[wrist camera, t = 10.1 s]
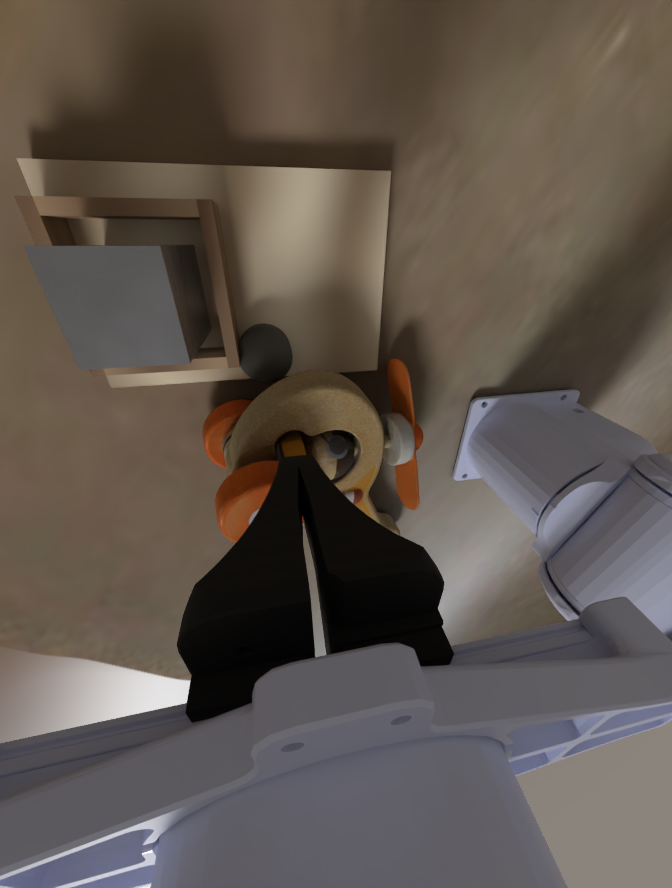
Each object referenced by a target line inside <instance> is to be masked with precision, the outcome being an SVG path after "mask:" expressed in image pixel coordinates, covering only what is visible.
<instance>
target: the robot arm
mask: <svg viewBox="0 0 672 888" xmlns="http://www.w3.org/2000/svg"><path fill="white" fill-rule="evenodd" d="M579 395H580V392H579V391H577V390H575V389H570V390H558V391H547V392H535V393H523V394H512V395H500V396H488V397H477V398H475V399H473V400H472V401H471V404H470V407H469V411H468V415H467V419H466V423H465V427H464V431H463V435H462V439H461V443H460V447H459V451H458V455H457V459H456V463H455V467H454V471H453V478H454V479H455V480H456V481H461V480H468V479H476V478H483V479H484V481H485V482H486V483H487V484H488V485H489V486H490V487H491V488H492V489H493V490H494V491H495V492H496V494H497V495H498V496H499V497H500V498H501V499H502V500H503V501H504V502H505V503H506V504H507V506H508V507H509V508H510V509H511V510H512V511H513V512H514V513H515V514H516V515H517V516H518V518H519V519H520V520H521V521H522V522H523V523H524V524H525V525H526V526H527V527H528V528H529V529H530V531H531V532H532V533H533V534H534V535H535V536H536V537H537V538H536V540H535V542H534V543H533V545H532V548H533V549H534V550H535V551H536V552H537V553H538V554H539V556H540V557H541V558H542V559H543V561H542V562H541V563H540V565H539V568H538V573H539V577H540V580H541V583H542V585H543V587H544V589H545V591H546V593H547V595H548V597H549V599H550V600H551V602H552V603H553V605H554V606H555V607H556V609H557V610H558V611H559V612H560V613H561V614H562V615H563V617H564V618H565V619H566V620H567V621H566V622H561V623H557V624H552V625H547V626H543V627H538V628H533V629H529V630H524V631H519V632H515V633H510V634H506V635H501V636H496V637H492V638H487V639H482V640H478V641H473V642H468V643H464V644H459V645H455V646H450V644H449V641H448V639H447V637H446V635H445V633H444V630H443V628H442V626H443V619H442V617H441V615H440V613H439V611H438V606H439V602H440V599H441V596H442V593H443V589H444V581H443V578H442V576H441V574H440V572H439V570H438V568H437V566H436V565H435V563H434V562H433V560H432V559H431V557H430V556H429V554H428V553H427V552H426V550H425V549H424V547H422V546H420V545H418V544H416V543H414V542H412V541H410V540H407V539H405V538H403V537H401V536H399V535H397V534H396V533H394V532H392V531H390V530H389V529H387V528H385V527H384V526H382V525H381V524H379V523H378V522H376V521H375V520H373V519H372V518H370V517H369V516H368V515H366V514H365V513H364V512H363V511H361V510H360V509H359V508H358V507H357V506H355V505H354V504H353V503H352V502H351V501H350V500H349V499H348V498H347V497H346V496H345V495H344V494H343V493H342V492H341V491H340V490H339V489H338V488H337V487H336V486H335V485H334V483H333V482H332V481H331V480H330V479H329V477H328V476H327V475H326V474H325V472H324V471H323V469H322V468H321V467H320V465H319V464H318V462H317V460H316V459H315V457H314V456H313V455H312V454H308V455H299V456H289V457H281V458H280V459H279V463H278V468H277V471H276V474H275V477H274V480H273V482H272V485H271V487H270V490H269V492H268V494H267V496H266V498H265V500H264V502H263V504H262V506H261V507H260V509H259V511H258V513H257V514H256V516H255V517H254V519H253V521H252V522H251V524H250V525H249V526H248V528H247V529H246V531H245V532H244V533H243V535H242V536H241V537H240V539H239V540H238V541H237V542H236V544H235V545H234V546H233V547H232V548H231V549H230V550H229V551H228V553H227V554H226V555H225V556H224V557H223V558H222V559H221V560H220V561H219V562H218V564H217V565H216V566H214V567H213V568H212V569H211V570H210V571H209V572H208V573H207V574H206V575H205V576H204V577H203V578H202V579H201V580H200V581H199V582H197V583H196V584H195V586H194V588H193V590H192V593H191V595H190V598H189V600H188V603H187V606H186V609H185V611H184V615H183V618H182V622H181V627H180V632H179V637H178V641H177V648H178V651H179V654H180V655H181V657H182V659H183V661H184V663H185V664H186V666H187V668H188V670H189V672H190V673H191V675H192V677H191V682H190V689H189V694H188V701H187V703H186V704H181V705H177V706H172V707H168V708H163V709H158V710H154V711H149V712H144V713H139V714H135V715H130V716H126V717H121V718H117V719H112V720H107V721H102V722H98V723H93V724H89V725H84V726H80V727H75V728H70V729H66V730H61V731H56V732H51V733H47V734H43V735H38V736H33V737H28V738H24V739H19V740H14V741H10V742H5V743H1V744H0V888H139V887H143V886H148V885H151V887H150V888H567V885H566V884H565V881H564V879H563V877H562V875H561V873H560V871H559V868H558V866H557V864H556V862H555V860H554V858H553V855H552V853H551V851H550V849H549V847H548V845H547V843H546V840H545V838H544V836H543V835H542V832H541V830H540V828H539V826H538V823H537V821H536V819H535V817H534V815H533V813H532V811H531V809H530V806H529V804H528V802H527V800H526V798H525V796H524V793H523V791H522V789H521V787H520V785H519V783H518V781H517V778H516V776H518V775H521V774H524V773H526V772H529V771H532V770H534V769H537V768H540V767H543V766H546V765H548V764H551V763H554V762H557V761H560V760H562V759H565V758H568V757H571V756H573V755H576V754H579V753H582V752H584V751H587V750H590V749H593V748H596V747H599V746H601V745H604V744H607V743H610V742H613V741H616V740H619V739H622V738H625V737H628V736H631V735H635V734H638V733H641V732H644V731H648V730H651V729H654V728H658V727H661V726H664V725H665V724H667V723H668V722H670V721H671V720H672V455H671V454H667V453H658V452H657V450H656V449H655V448H654V447H653V446H652V445H651V444H650V443H649V442H648V441H647V440H646V439H645V438H643V437H641V436H640V435H638V434H636V433H634V432H632V431H630V430H628V429H626V428H624V427H622V426H620V425H619V424H617V423H615V422H613V421H611V420H609V419H607V418H605V417H603V416H601V415H599V414H597V413H595V412H593V411H591V410H589V409H587V408H586V407H584V406H582V405H580V404H578V403H576V402H577V400H578V398H579ZM483 402H485V403H484V404H483V405H482V403H483ZM302 516H303V519H302ZM303 520H304V524H305V529H306V533H307V537H308V541H309V545H310V550H311V554H312V558H313V562H314V567H315V573H316V580H317V587H318V594H319V602H320V609H321V617H322V624H323V632H324V639H325V647H326V654H327V655H325V656H320V657H315V648H314V636H313V623H312V610H311V598H310V590H309V582H308V575H307V569H306V562H305V555H304V548H303Z"/></svg>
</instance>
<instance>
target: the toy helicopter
mask: <svg viewBox="0 0 672 888" xmlns="http://www.w3.org/2000/svg"><path fill="white" fill-rule="evenodd" d="M387 379H388V385H389V391H390V396H391V402H392V412H393V413H389V414H384V415H382V416H381V417H379V414H378V412H377V411H376V409H375V407H374V406H373V404H372V403H371V402H370V401H369V399H368V398H367V397H366V395H365V394H364V393H363V391H362V390H361V389H360V388H359V387H358V386H357V385H356V384H355V383H353V382H352V381H351V380H349V379H348V378H347V377H345V376H343V375H341V374H339V373H336V372H333V371H328V370H307V371H302V372H298V373H295V374H293V375H291V376H288V377H286V378H284V379H282V380H280V381H278V382H276V383H275V384H273V385H272V386H270V387H269V388H267V389H266V390H265V391H263V392H262V393H261V394H260V395H258V396H257V397H256V398H255V399H254V400H253V401H252V400H245V399H237V400H233V401H229V402H226V403H224V404H222V405H220V406H218V407H217V408H215V409H214V410H213V411H212V412H211V413H210V414H209V415H208V417H207V419H206V420H205V422H204V425H203V442H204V448H205V451H206V453H207V455H208V456H209V458H210V459H211V460H212V461H213V462H214V463H216V464H217V465H219V466H221V467H223V468H226V469H227V472H228V477H227V478H226V479H225V480H224V482H223V483H222V485H221V486H220V488H219V490H218V492H217V494H216V499H215V507H216V514H217V520H218V524H219V527H220V529H221V531H222V533H223V534H224V535H225V536H226V537H227V538H228V539H230V540H231V541H233V542H235V543H236V542H237V541H238V540H239V539H240V537H241V536H242V535H243V533H244V532H245V531H246V529H247V528H248V526H249V525H250V524H251V522H252V521H253V519H254V517H255V516H256V514H257V513H258V511H259V509H260V507H261V506H262V504H263V502H264V500H265V498H266V496H267V494H268V492H269V490H270V487H271V485H272V482H273V480H274V477H275V474H276V471H277V468H278V463H279V459H280V458H281V457H289V456H299V455H308V454H312V455H313V456H314V457H315V459H316V460H317V462H318V464H319V465H320V467H321V468H322V469H323V471H324V472H325V474H326V475H327V476H328V477H329V479H330V480H331V481H332V482H333V483H334V485H335V486H336V487H337V488H338V489H339V490H340V491H341V492H342V493H343V494H344V495H345V496H346V497H347V498H348V499H349V500H350V501H351V502H352V503H353V504H354V505H355V506H357V507H358V508H359V509H360V510H361V511H363V512H364V513H365V514H366V515H368V516H369V517H370V518H372V519H373V520H375V521H376V522H378V523H379V524H381V525H382V526H384V527H385V528H387V529H389V530H390V531H392V532H394V533H396V534H397V535H399V536H400V531H399V529H398V527H397V526H396V524H395V522H394V520H393V519H392V517H391V516H390V515H388V514H386V513H378V512H377V511H376V509H375V506H374V504H373V502H372V500H371V498H370V496H369V490H370V488H371V486H372V484H373V483H374V481H375V479H376V476H377V474H378V472H379V469H380V466H381V463H382V459H383V458H384V459H385V460H386V461H387V462H388V463H389V464H390V465H395V471H396V487H397V493H398V496H399V498H400V500H401V501H402V503H403V504H404V505H405V506H406V507H407V508H408V509H410V510H416V509H417V508H418V506H419V485H418V470H417V460H416V450H417V449H419V447H420V446H421V444H422V442H423V432H422V429H421V427H420V426H419V425H418V424H417V423H415V417H414V405H413V397H412V389H411V382H410V376H409V372H408V370H407V368H406V366H405V364H404V363H403V362H402V361H401V360H400V359H392V360H390V361H389V363H388V366H387ZM298 430H299V431H302V432H304V434H303V435H302V437H301V435H300V433H299V431H298ZM345 431H348V432H350V433H351V439H350V438H349V436H348V435H347V433H346V432H345ZM302 519H303V516H302ZM303 526H305V524H304V520H303Z"/></svg>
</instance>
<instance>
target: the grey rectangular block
mask: <svg viewBox="0 0 672 888" xmlns="http://www.w3.org/2000/svg"><path fill="white" fill-rule="evenodd" d="M24 249H25V251H26V253H27V255H28V257H29V260H30V262H31V264H32V266H33V268H34V271H35V273H36V275H37V277H38V279H39V282H40V284H41V286H42V288H43V290H44V293H45V295H46V297H47V299H48V301H49V304H50V306H51V308H52V310H53V312H54V315H55V317H56V319H57V321H58V324H59V326H60V328H61V330H62V332H63V335H64V337H65V339H66V341H67V343H68V346H69V348H70V350H71V352H72V354H73V357H74V359H75V361H76V363H77V365H78V368H79V370H89V369H106V368H124V367H141V366H158V365H175V364H190V363H191V362H192V360H193V358H194V357H195V355H196V354H197V352H198V350H199V349H200V347H201V346H202V344H203V342H204V341H205V339H206V338H207V336H208V334H209V333H210V331H211V330H212V329H211V324H210V319H209V314H208V309H207V305H206V300H205V295H204V290H203V285H202V280H201V276H200V271H199V266H198V261H197V256H196V251H195V247H194V245H69V246H24Z"/></svg>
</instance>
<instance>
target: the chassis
mask: <svg viewBox="0 0 672 888" xmlns="http://www.w3.org/2000/svg"><path fill="white" fill-rule="evenodd" d="M17 161H18V163H19V165H20V168H21V170H22V173H23V175H24V178H25V180H26V182H27V185H28V187H29V190H30V192H31V195H32V196H15V199H16V201H17V203H18V206H19V208H20V210H21V212H22V215H23V217H24V219H25V222H26V224H27V226H28V229H29V231H30V233H31V235H32V238H33V240H34V242H35V245H36V246H69V245H194V247H195V251H196V256H197V261H198V266H199V271H200V276H201V280H202V285H203V290H204V295H205V300H206V305H207V309H208V314H209V319H210V324H211V329H212V330H211V331H210V333H209V334H208V336H207V338H206V339H205V341H204V342H203V344H202V346H201V347H200V349H199V350H198V352H197V354H196V355H195V357H194V358H193V360H192V362H191V363H190V364H175V365H158V366H141V367H124V368H106V369H90V371H91V373H92V375H93V376H106V377H107V379H108V382H109V384H110V386H111V388H118V387H133V386H148V385H163V384H177V383H192V382H207V381H222V380H237V379H254V380H256V381H259V382H265V383H269V382H274V381H277V380H279V379H281V378H283V377H284V376H291V375H293V374H295V373H298V372H302V371H307V370H328V371H333V372H336V373H341V372H356V371H371V370H377V364H378V350H379V335H380V321H381V307H382V293H383V278H384V264H385V250H386V236H387V222H388V207H389V193H390V179H391V171H377V170H348V169H318V168H289V167H260V166H231V165H201V164H172V163H143V162H113V161H84V160H55V159H25V158H17Z"/></svg>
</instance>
